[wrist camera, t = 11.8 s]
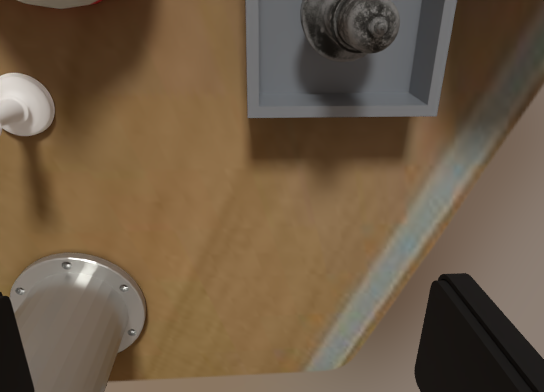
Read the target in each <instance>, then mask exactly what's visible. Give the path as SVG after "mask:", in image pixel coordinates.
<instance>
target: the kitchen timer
mask: <svg viewBox="0 0 544 392" xmlns="http://www.w3.org/2000/svg"><path fill="white" fill-rule="evenodd" d="M18 1H20V2H22V3H26V4H31V5H38V6H44V7H51V8H57V9H65V8H71V7H78V6H84V5H91V4H97V3H99V2H101V1H102V0H18Z"/></svg>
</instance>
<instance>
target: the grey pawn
mask: <svg viewBox="0 0 544 392" xmlns="http://www.w3.org/2000/svg"><path fill="white" fill-rule="evenodd" d="M300 15H301V23H302V27H303V30H304V33H305V36H306V39H307V40H308V42H309V43H310V45H311V47H312V48H313V49H314V50H315V51H316V52H318V53H319V54H320V55H321V56H323V57H325V58H327V59H329V60H332V61H338V62H348V61H354V60H357V59H359V58H362V57H364V56H366V55H367V54H371V53H377V52H380V51H383V50H384V49H386V48H387V47H389V46H390V45H391V43H392V42H393V41H394V40H395V38H396V36H397V34H398V31H399V27H400V17H399V12H398V10H397V8H396V6H395V4H394V3H393V2H392V1H391V0H302V4H301V10H300Z"/></svg>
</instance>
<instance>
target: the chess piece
mask: <svg viewBox="0 0 544 392" xmlns="http://www.w3.org/2000/svg"><path fill="white" fill-rule="evenodd" d="M54 115H55V107H54V102H53V99H52V97H51V95H50V93H49V92H48V90H47V89H46V88H45V87H44V86H43V85H42V84H41V83H40V82H39V81H37V80H36V79H34V78H32V77H30V76H28V75H25V74H21V73H7V74H4V75H2V76H0V135H1V133H2V128H3V129H4V130H6V131H7V132H10V133H12V134H15V135H19V136H32V135H36V134H38V133H41V132H43V131H44V130H46V129H47V128H48V127H49V126H50V125H51V123H52V121H53V119H54Z"/></svg>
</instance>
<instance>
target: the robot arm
mask: <svg viewBox="0 0 544 392" xmlns="http://www.w3.org/2000/svg"><path fill="white" fill-rule="evenodd" d="M145 319H146V303H145V298H144V296H143V293H142V291H141V289H140V288H139V286H138V285H137V283H136V282H135V280H134V279H133V278H132V277H131V276H130V275H129V274H128V273H127V272H125V271H124V270H122V269H121V268H120V267H118V266H117V265H115V264H113V263H111V262H109V261H107V260H105V259H102V258H99V257H96V256H93V255H88V254H82V253H60V254H53V255H50V256H47V257H44V258H41V259H39V260H37V261H35V262H34V263H32V264H30V265H29V266H28V267H27V268H26V269H25V270H24V271H23V272H22V273H21V274H20V276H19V277H18V278H17V279H16V281H15V283H14V284H13V286H12V289H11V293H10V298H9V297H7V296H3V295H2V293H1V292H0V392H104V391H105V388H106V386H107V382H108V379H109V376H110V373H111V370H112V367H113V364H114V361H115V358H116V356H117V353H119V352H121V351H123V350H125V349H126V348H127V347H129V346H130V345H131V344H133V342H134V341H135V340H136V339H137V338H138V336H139V335H140V333H141V331H142V329H143V325H144V322H145ZM415 378H416V382H417V385H418V387H419V389H420V391H421V392H544V359H543V358H542V357H541V356H540V355H539V354H538V352H537V351H536V350H535V349H534V348H533V347H532V345H531V344H530V343H529V342H528V341H527V340H526V339H525V338H524V336H523V335H522V334H521V333H520V332H519V331H518V330H517V328H515V326H514V325H513V324H512V323H511V322H510V320H509V319H508V318H507V317H506V316H505V315H504V314H503V312H502V311H501V310H500V309H499V308H498V307H497V306H496V304H495V303H494V302H493V301H492V300H491V299H490V298H489V297H488V295H487V294H486V293H485V292H484V291H483V290H482V288H481V287H480V286H479V285H478V284H477V283H476V282H475V280H473V278H472V277H471V276H470V275H468V274H466V273H462V274H442V275H440V277H439V278H438V281H434V282H433V283H432V285H431V288H430V294H429V298H428V303H427V309H426V314H425V319H424V324H423V329H422V334H421V339H420V344H419V349H418V354H417V359H416V364H415Z"/></svg>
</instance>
